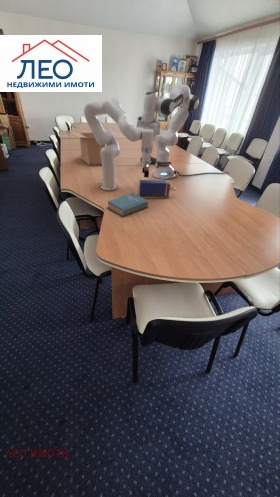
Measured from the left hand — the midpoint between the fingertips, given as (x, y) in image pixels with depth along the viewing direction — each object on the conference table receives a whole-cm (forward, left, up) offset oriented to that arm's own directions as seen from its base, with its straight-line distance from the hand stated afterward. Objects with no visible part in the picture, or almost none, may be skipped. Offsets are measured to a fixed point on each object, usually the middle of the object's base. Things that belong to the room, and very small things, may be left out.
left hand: (145, 175), depth 160 cm
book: (-3, -23, -17) cm, 29 cm away
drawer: (+11, +6, -16) cm, 20 cm away
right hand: (-8, +23, +19) cm, 31 cm away
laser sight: (-23, +88, -17) cm, 93 cm away
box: (-79, +63, -17) cm, 102 cm away
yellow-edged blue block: (+6, +3, -17) cm, 18 cm away
